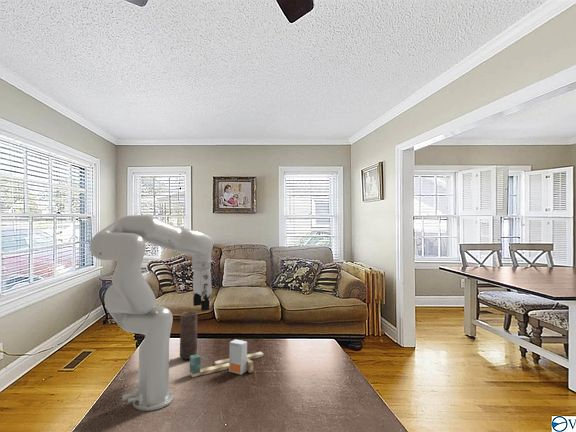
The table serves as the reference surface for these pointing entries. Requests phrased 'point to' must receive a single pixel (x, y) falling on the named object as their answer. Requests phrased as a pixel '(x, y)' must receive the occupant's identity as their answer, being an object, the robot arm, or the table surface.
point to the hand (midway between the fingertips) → (201, 307)
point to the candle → (188, 334)
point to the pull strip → (196, 370)
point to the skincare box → (238, 356)
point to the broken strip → (250, 356)
